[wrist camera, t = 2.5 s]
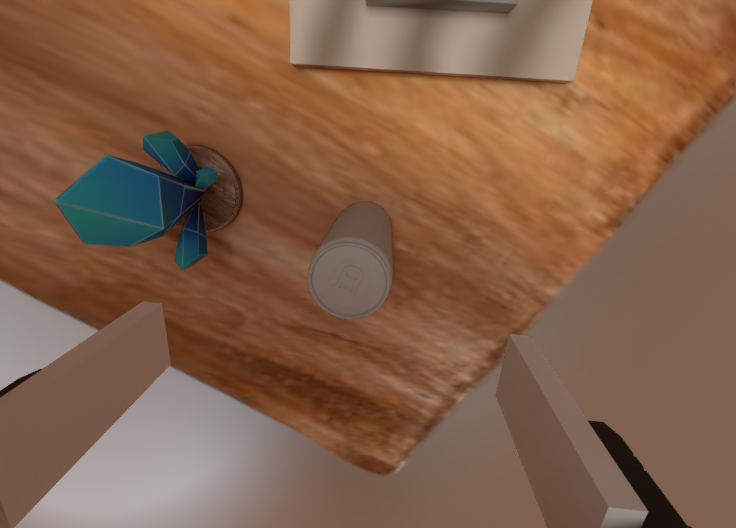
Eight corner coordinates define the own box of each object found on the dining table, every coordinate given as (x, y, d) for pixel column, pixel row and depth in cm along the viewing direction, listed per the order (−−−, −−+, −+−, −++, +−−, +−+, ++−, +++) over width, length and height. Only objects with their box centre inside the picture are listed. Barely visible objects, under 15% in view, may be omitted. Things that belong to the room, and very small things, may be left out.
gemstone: (144, 211, 32) (11, 254, 21) (181, 121, 29) (49, 115, 18) (220, 255, 33) (131, 319, 22) (262, 172, 30) (186, 196, 19)
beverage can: (327, 240, 32) (292, 299, 21) (350, 190, 30) (325, 224, 19) (377, 263, 32) (369, 334, 21) (402, 215, 31) (408, 264, 20)
